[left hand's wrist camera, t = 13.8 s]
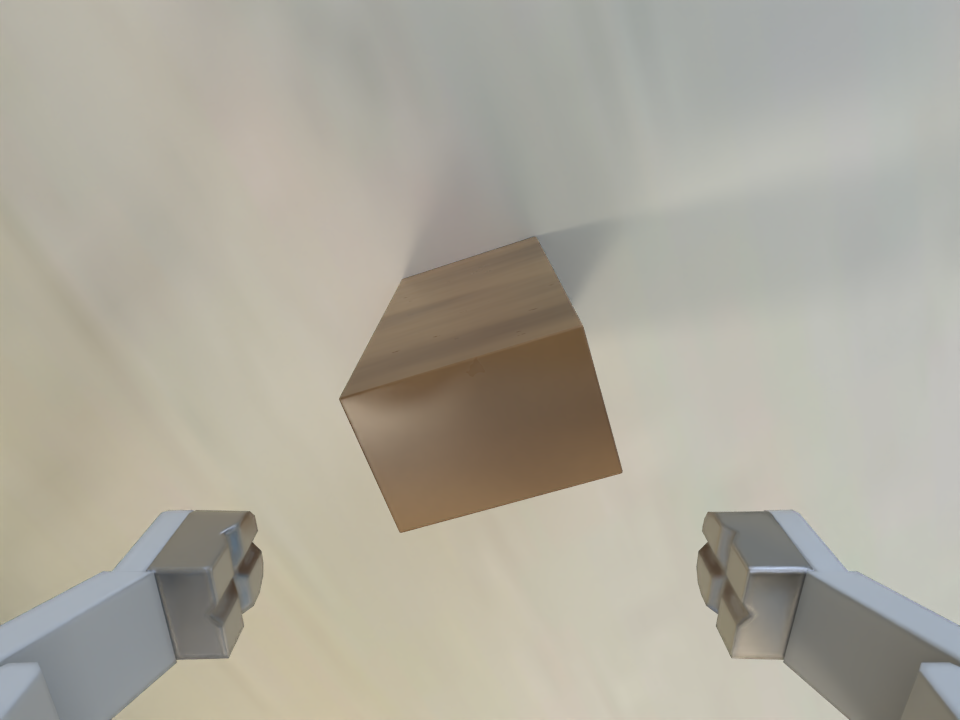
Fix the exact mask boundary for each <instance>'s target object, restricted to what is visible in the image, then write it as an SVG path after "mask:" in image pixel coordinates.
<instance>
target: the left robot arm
mask: <svg viewBox="0 0 960 720" xmlns="http://www.w3.org/2000/svg"><path fill="white" fill-rule="evenodd" d="M257 532H258V529H257V524H256V519H255V515H254V514H252V513H251V512H250V511H212V510H196V511H193V510H168V511H165V512H162V513H161V514H160V515H159V516H158V517H157V518H156V519H155V521H154V522H153V523H152V524H151V525H150V526H149V528H148V529H147V530H146V531H145V532H144V534H143V535H142V536H141V537H140V538H139V540H138V541H137V542H136V543H135V544H134V546H133V547H132V548H131V549H130V550H129V551H128V553H127V554H126V555H125V556H124V557H123V559H122V560H121V561H120V562H119V563H118V565H117V566H116V567H115V568H114V569H113V570H112V571H103V572H101V573H99V574H97V575H95V576H93V577H91V578H89V579H87V580H86V581H84V582H82V583H80V584H78V585H76V586H74V587H72V588H70V589H69V590H67V591H65V592H63V593H61V594H59V595H57V596H55V597H53V598H52V599H50V600H48V601H46V602H44V603H42V604H40V605H38V606H36V607H34V608H33V609H31V610H29V611H27V612H25V613H23V614H21V615H19V616H17V617H16V618H14V619H12V620H10V621H8V622H6V623H4V624H2V625H0V720H111V719H112V718H113V717H114V716H116V715H117V714H118V713H119V712H120V711H121V710H123V709H124V708H125V707H126V706H127V705H128V704H129V703H131V702H132V701H133V700H134V699H135V698H136V697H138V696H139V695H140V694H141V693H142V692H143V691H144V690H146V689H147V688H148V687H149V686H150V685H151V684H152V683H154V682H155V681H156V680H157V679H158V678H159V677H161V676H162V675H163V674H164V673H165V672H166V671H167V670H169V669H170V668H171V667H172V666H173V665H174V664H176V662H177V661H176V660H184V659H218V658H229V656H230V654H231V652H232V650H233V648H234V646H235V644H236V642H237V640H238V638H239V635H240V633H241V631H242V629H243V627H244V623H243V618H242V614H243V613H244V612H246V611H247V610H248V609H250V608H251V607H253V606H254V604H255V602H256V599H257V597H258V595H259V593H260V588H261V584H262V579H263V558H262V551H261V550H260V549H259V548H258V547H257V546H256V545H255V544H254V543H253V542H252V541H253V539H254V537H255V535H256V534H257ZM702 532H703V534H704V535H705V537H706V539H707V541H708V542H707V543H706V544H705V545H704V546H703V547H702V548H701V549H700V550H699V552H698V559H697V579H698V585H699V588H700V592H701V595H702V597H703V600H704V602H705V604H706V606H707V607H709V608H710V609H712V610H713V611H714V612H716V613H717V614H718V618H717V623H716V627H717V629H718V631H719V633H720V635H721V637H722V640H723V642H724V644H725V646H726V648H727V650H728V652H729V654H730V656H731V658H740V659H776V660H784V661H783V662H784V663H785V664H786V665H787V666H788V667H789V668H791V669H792V670H793V671H794V672H795V673H796V674H797V675H799V676H800V677H801V678H802V679H803V680H804V681H805V682H807V683H808V684H809V685H810V686H811V687H812V688H814V689H815V690H816V691H817V692H818V693H819V694H820V695H822V696H823V697H824V698H825V699H826V700H827V701H828V702H830V703H831V704H832V705H833V706H834V707H835V708H836V709H838V710H839V711H840V712H841V713H842V714H843V715H845V716H846V717H847V718H848V719H849V720H960V626H959V625H957V624H955V623H954V622H952V621H950V620H948V619H946V618H944V617H942V616H940V615H939V614H937V613H935V612H933V611H931V610H929V609H927V608H925V607H923V606H922V605H920V604H918V603H916V602H914V601H912V600H910V599H908V598H906V597H905V596H903V595H901V594H899V593H897V592H895V591H893V590H891V589H890V588H888V587H886V586H884V585H882V584H880V583H878V582H876V581H874V580H873V579H871V578H869V577H867V576H865V575H863V574H861V573H859V572H857V571H847V569H846V568H845V567H844V566H843V565H842V563H841V562H840V561H839V560H838V559H837V557H836V556H835V555H834V554H833V553H832V552H831V550H830V549H829V548H828V547H827V546H826V544H825V543H824V542H823V541H822V540H821V538H820V537H819V536H818V535H817V534H816V533H815V531H814V530H813V529H812V528H811V527H810V525H809V524H808V523H807V522H806V521H805V519H804V518H803V517H802V516H801V515H800V514H799V513H798V512H796V511H794V510H767V511H756V512H708V513H707V515H706V517H705V519H704V523H703V528H702Z"/></svg>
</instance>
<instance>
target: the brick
mask: <svg viewBox="0 0 960 720" xmlns="http://www.w3.org/2000/svg"><path fill="white" fill-rule="evenodd" d="M339 400H340V402H341V404H342V407H343V409H344V411H345V413H346V415H347V418H348V420H349V422H350V424H351V426H352V429H353V431H354V433H355V435H356V437H357V440H358V442H359V444H360V446H361V448H362V451H363V453H364V455H365V457H366V459H367V462H368V464H369V466H370V468H371V470H372V473H373V475H374V477H375V479H376V481H377V484H378V486H379V488H380V490H381V492H382V495H383V497H384V499H385V501H386V503H387V506H388V508H389V510H390V512H391V514H392V517H393V519H394V521H395V523H396V525H397V528H398V530H399V532H400V533H402V532H406V531H410V530H413V529H417V528H421V527H424V526H428V525H432V524H435V523H439V522H443V521H447V520H450V519H454V518H458V517H461V516H465V515H469V514H472V513H476V512H480V511H484V510H487V509H491V508H495V507H498V506H502V505H506V504H509V503H513V502H517V501H521V500H524V499H528V498H532V497H535V496H539V495H543V494H547V493H550V492H554V491H558V490H561V489H565V488H569V487H572V486H576V485H580V484H584V483H587V482H591V481H595V480H598V479H602V478H606V477H609V476H613V475H617V474H621V473H622V467H621V463H620V460H619V456H618V452H617V449H616V445H615V441H614V438H613V434H612V430H611V426H610V423H609V419H608V415H607V412H606V408H605V404H604V401H603V397H602V393H601V390H600V386H599V382H598V379H597V375H596V371H595V368H594V364H593V360H592V357H591V353H590V349H589V346H588V342H587V338H586V335H585V331H584V327H583V325H582V323H581V321H580V319H579V317H578V315H577V313H576V312H575V310H574V308H573V306H572V304H571V302H570V300H569V298H568V296H567V294H566V293H565V291H564V289H563V287H562V285H561V283H560V281H559V279H558V277H557V275H556V273H555V272H554V270H553V268H552V266H551V264H550V262H549V260H548V258H547V256H546V254H545V253H544V251H543V249H542V247H541V245H540V243H539V241H538V239H537V237H536V236H535V237H532V238H529V239H525V240H522V241H519V242H516V243H513V244H510V245H507V246H504V247H501V248H498V249H494V250H491V251H488V252H485V253H482V254H479V255H476V256H473V257H470V258H467V259H463V260H460V261H457V262H454V263H451V264H448V265H445V266H442V267H439V268H436V269H432V270H429V271H426V272H423V273H420V274H417V275H414V276H411V277H408V278H405V279H402V281H401V282H400V284H399V286H398V288H397V290H396V292H395V294H394V296H393V298H392V299H391V301H390V303H389V305H388V307H387V309H386V311H385V313H384V315H383V317H382V318H381V320H380V322H379V324H378V326H377V328H376V330H375V332H374V334H373V335H372V337H371V339H370V341H369V343H368V345H367V347H366V349H365V351H364V353H363V354H362V356H361V358H360V360H359V362H358V364H357V366H356V368H355V370H354V371H353V373H352V375H351V377H350V379H349V381H348V383H347V385H346V387H345V389H344V390H343V392H342V394H341V396H340V398H339Z"/></svg>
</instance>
